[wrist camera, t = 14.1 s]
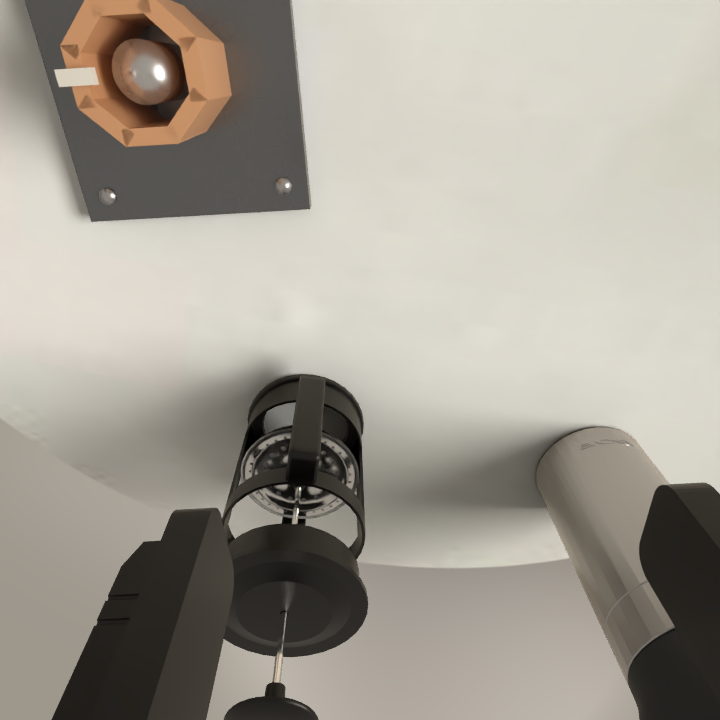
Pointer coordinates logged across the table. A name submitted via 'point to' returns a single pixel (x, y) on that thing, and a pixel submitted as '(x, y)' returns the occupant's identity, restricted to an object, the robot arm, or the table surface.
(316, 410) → the french press
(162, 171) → the plate
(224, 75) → the octagonal hollow tube
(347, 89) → the table surface
